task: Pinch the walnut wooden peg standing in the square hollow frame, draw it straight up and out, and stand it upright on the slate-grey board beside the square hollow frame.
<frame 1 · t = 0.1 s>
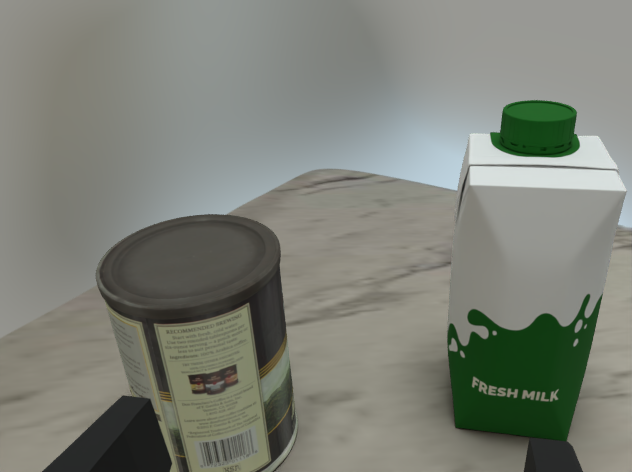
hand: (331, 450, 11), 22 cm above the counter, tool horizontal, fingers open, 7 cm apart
coffee can: (222, 433, 40), on the counter
milk carton: (506, 399, 42), on the counter
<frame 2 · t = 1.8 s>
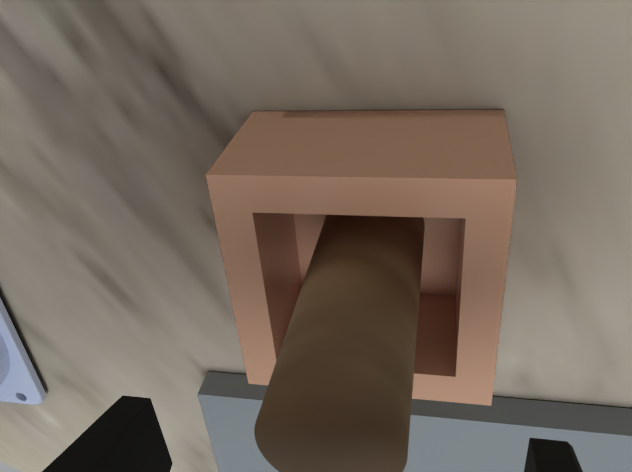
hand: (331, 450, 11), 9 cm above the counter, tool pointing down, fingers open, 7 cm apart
board: (408, 456, 24), on the counter
peg: (374, 226, 18), resting on square hollow frame
square hollow frame: (376, 217, 18), on the counter
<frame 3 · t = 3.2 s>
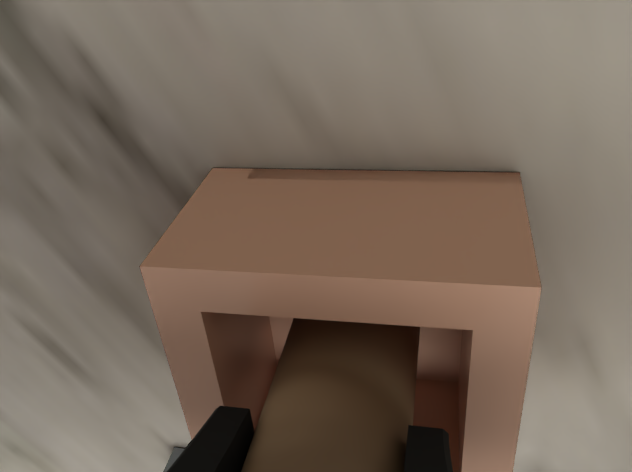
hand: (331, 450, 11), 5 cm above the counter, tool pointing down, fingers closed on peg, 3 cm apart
peg: (361, 303, 15), resting on square hollow frame, touching gripper
square hollow frame: (363, 291, 15), on the counter
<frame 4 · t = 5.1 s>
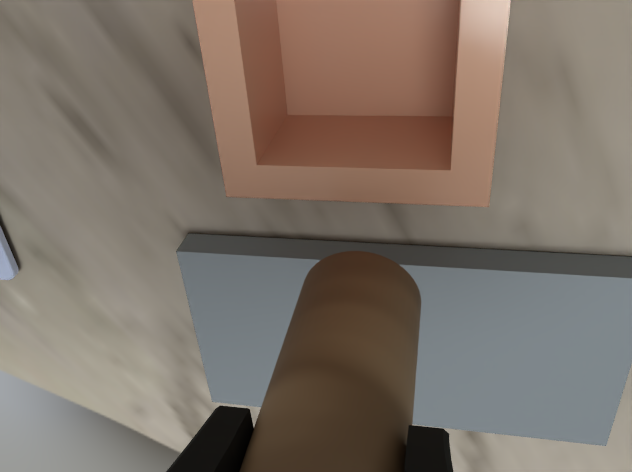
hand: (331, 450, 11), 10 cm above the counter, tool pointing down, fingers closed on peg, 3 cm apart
board: (399, 329, 23), on the counter
peg: (360, 299, 15), point 6 cm above the counter, touching gripper
square hollow frame: (367, 26, 17), on the counter
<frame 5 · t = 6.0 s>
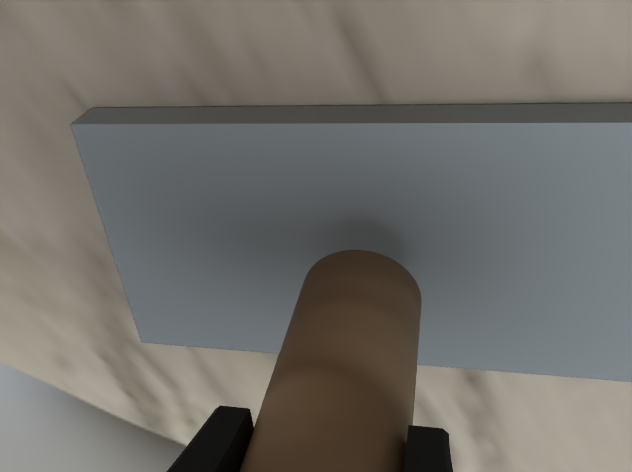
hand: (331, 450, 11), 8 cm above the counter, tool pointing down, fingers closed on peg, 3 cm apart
board: (374, 234, 17), on the counter
peg: (361, 298, 15), point 3 cm above the counter, touching gripper
when the fingers open (7 cm above the counter, at t = 6.9 s): peg stays where it is, resting on board.
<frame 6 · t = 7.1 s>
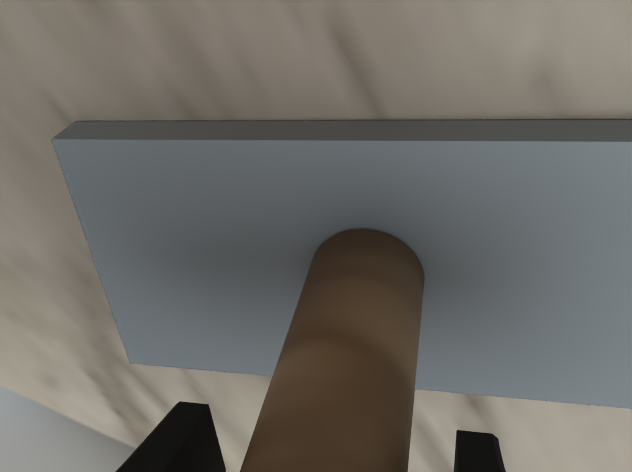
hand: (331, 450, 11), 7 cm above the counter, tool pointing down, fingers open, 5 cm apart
board: (371, 254, 17), on the counter
peg: (366, 276, 16), point 1 cm above the counter, touching board
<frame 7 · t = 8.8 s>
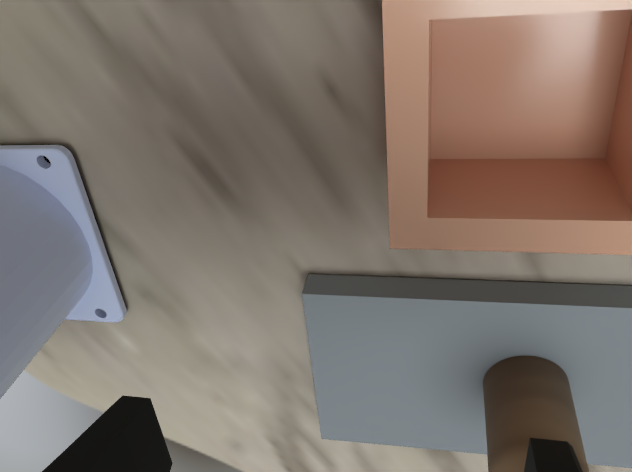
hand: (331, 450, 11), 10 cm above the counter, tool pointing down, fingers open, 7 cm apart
board: (520, 364, 23), on the counter
peg: (525, 385, 22), point 1 cm above the counter, touching board
square hollow frame: (521, 71, 17), on the counter
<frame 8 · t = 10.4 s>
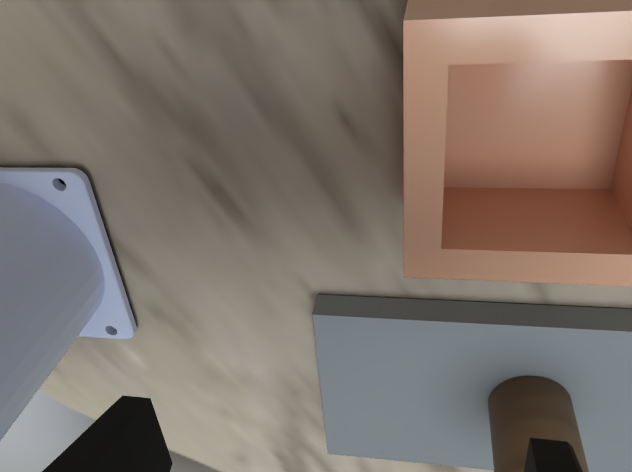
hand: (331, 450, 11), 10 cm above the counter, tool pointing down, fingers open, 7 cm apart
board: (524, 383, 23), on the counter
peg: (529, 404, 22), point 1 cm above the counter, touching board
square hollow frame: (530, 105, 17), on the counter
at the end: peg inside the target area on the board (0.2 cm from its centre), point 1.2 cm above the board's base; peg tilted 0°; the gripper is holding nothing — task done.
